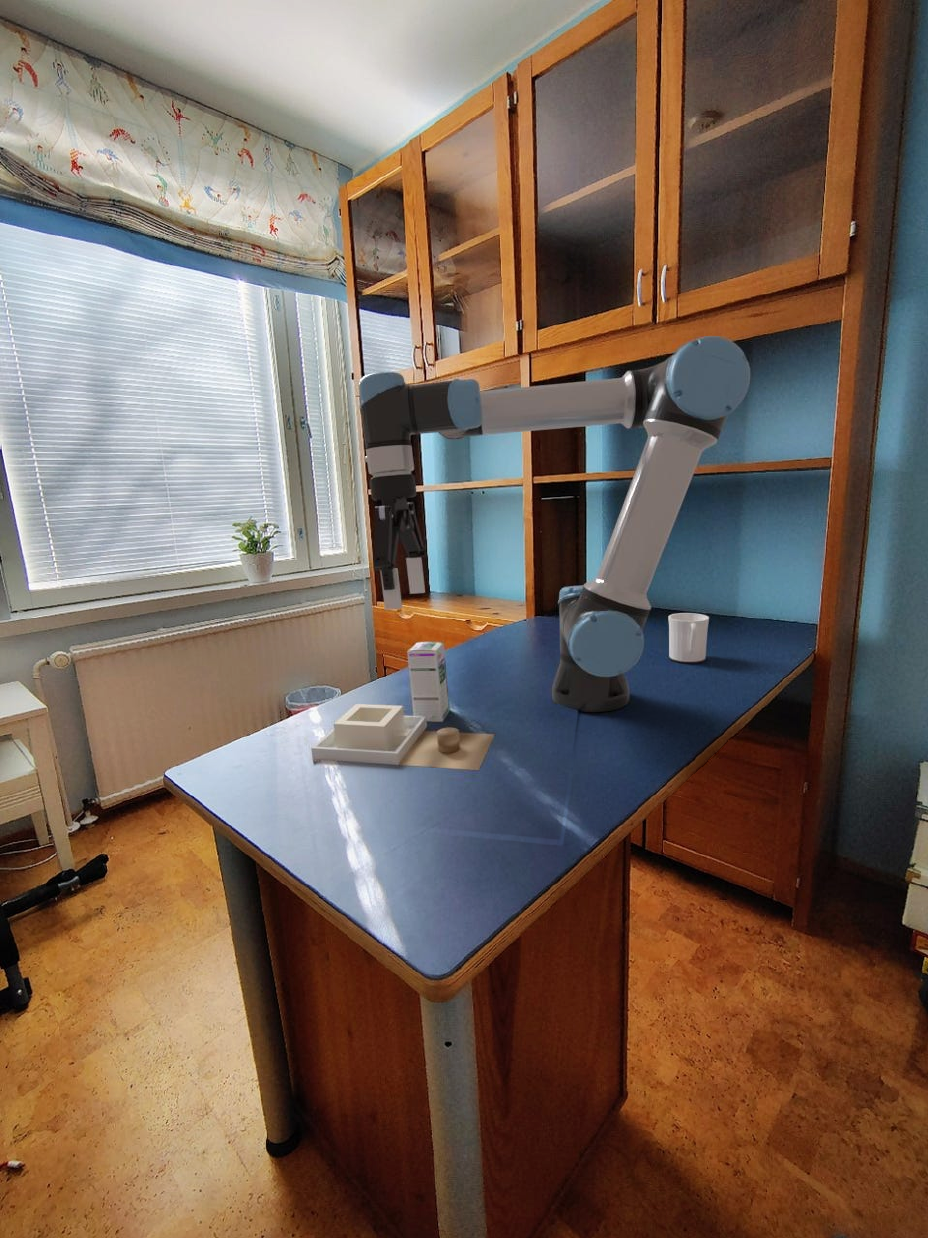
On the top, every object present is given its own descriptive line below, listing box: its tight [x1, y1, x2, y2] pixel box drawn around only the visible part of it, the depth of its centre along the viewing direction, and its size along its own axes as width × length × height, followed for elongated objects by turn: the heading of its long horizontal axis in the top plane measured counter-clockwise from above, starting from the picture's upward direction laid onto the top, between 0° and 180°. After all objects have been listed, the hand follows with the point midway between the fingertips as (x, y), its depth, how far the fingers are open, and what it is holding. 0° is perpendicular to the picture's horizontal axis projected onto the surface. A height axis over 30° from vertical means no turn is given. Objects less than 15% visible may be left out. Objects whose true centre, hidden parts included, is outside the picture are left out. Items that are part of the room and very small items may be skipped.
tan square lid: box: [398, 727, 496, 771], centre depth 95 cm, size 13×13×4 cm
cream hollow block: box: [333, 703, 412, 751], centre depth 98 cm, size 9×12×5 cm
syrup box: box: [406, 641, 450, 723], centre depth 108 cm, size 6×6×14 cm
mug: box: [667, 612, 710, 665], centre depth 134 cm, size 11×9×10 cm
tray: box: [311, 714, 428, 766], centre depth 99 cm, size 15×15×2 cm
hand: (406, 600), depth 99 cm, fingers open, 13 cm apart
